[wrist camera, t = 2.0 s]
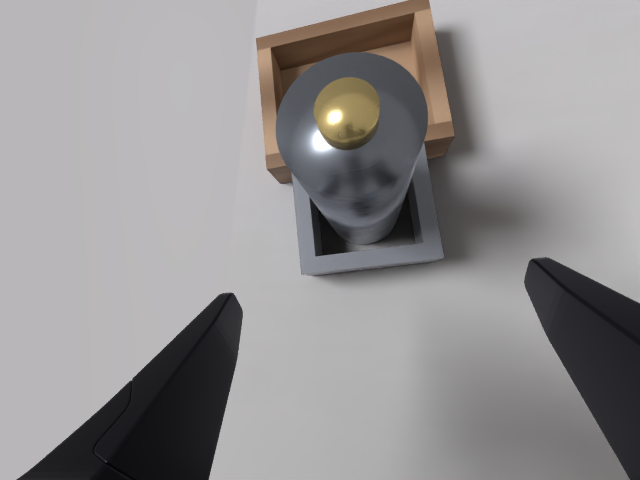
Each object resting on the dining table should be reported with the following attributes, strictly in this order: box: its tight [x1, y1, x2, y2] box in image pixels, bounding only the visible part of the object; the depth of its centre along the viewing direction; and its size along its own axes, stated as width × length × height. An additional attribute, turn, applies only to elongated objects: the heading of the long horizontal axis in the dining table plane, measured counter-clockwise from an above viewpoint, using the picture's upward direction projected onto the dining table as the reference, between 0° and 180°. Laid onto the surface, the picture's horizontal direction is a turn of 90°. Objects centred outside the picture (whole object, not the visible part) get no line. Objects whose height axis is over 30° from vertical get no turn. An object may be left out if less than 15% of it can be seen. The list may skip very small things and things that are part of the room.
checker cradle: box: [292, 143, 444, 276], centre depth 20 cm, size 8×8×3 cm
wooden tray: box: [256, 0, 455, 184], centre depth 22 cm, size 10×12×3 cm
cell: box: [275, 52, 428, 244], centre depth 16 cm, size 5×5×13 cm
